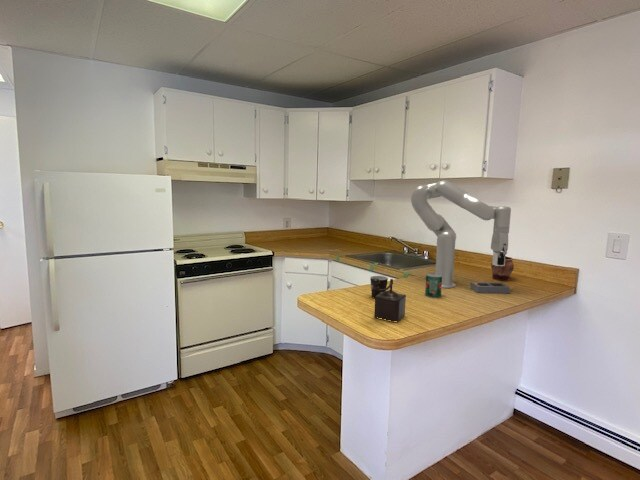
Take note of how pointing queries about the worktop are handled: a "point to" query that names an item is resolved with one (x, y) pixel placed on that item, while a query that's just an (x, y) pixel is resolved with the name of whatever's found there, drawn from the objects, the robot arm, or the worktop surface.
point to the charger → (496, 259)
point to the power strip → (490, 287)
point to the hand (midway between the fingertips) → (498, 263)
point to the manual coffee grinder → (388, 302)
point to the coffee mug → (381, 286)
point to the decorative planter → (503, 270)
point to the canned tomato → (433, 285)
